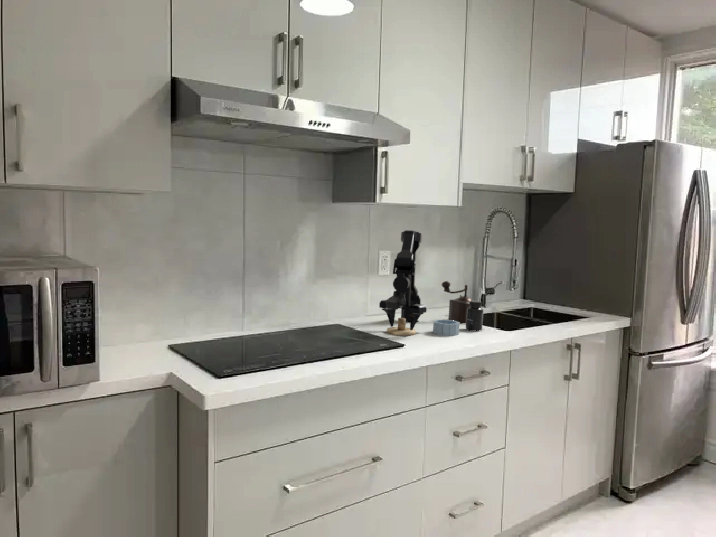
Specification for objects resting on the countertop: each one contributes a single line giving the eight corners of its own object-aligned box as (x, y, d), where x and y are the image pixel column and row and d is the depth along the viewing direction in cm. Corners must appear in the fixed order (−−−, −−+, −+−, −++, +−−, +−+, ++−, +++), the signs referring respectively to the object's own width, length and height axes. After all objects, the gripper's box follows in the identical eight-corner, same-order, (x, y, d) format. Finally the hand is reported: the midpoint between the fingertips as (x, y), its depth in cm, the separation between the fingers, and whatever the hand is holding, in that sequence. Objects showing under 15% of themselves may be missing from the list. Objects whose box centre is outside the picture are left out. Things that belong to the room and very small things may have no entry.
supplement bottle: (465, 330, 226) (466, 301, 225) (465, 327, 233) (467, 299, 232) (482, 331, 225) (483, 303, 224) (482, 328, 231) (484, 300, 230)
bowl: (428, 334, 216) (428, 321, 215) (441, 330, 224) (441, 318, 223) (450, 338, 210) (451, 325, 209) (463, 334, 217) (463, 322, 217)
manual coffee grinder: (464, 318, 256) (466, 280, 255) (480, 322, 246) (483, 282, 245) (437, 320, 249) (439, 280, 247) (453, 324, 239) (455, 283, 237)
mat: (381, 333, 213) (381, 332, 213) (397, 330, 221) (397, 328, 221) (404, 338, 206) (405, 336, 206) (420, 334, 214) (420, 333, 214)
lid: (381, 332, 213) (381, 318, 212) (397, 328, 221) (398, 315, 221) (405, 337, 206) (405, 322, 205) (421, 333, 214) (421, 319, 214)
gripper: (371, 287, 212) (369, 327, 213) (412, 292, 200) (410, 335, 201) (388, 285, 220) (386, 323, 222) (428, 290, 209) (426, 331, 210)
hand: (401, 328), depth 213 cm, fingers open, 9 cm apart
